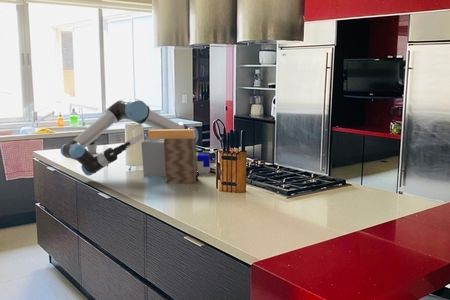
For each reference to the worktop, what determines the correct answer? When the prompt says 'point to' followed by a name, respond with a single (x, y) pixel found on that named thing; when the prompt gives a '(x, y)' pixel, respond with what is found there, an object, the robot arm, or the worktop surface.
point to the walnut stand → (180, 160)
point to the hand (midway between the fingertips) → (139, 137)
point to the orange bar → (171, 134)
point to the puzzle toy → (203, 162)
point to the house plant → (92, 147)
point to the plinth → (153, 158)
